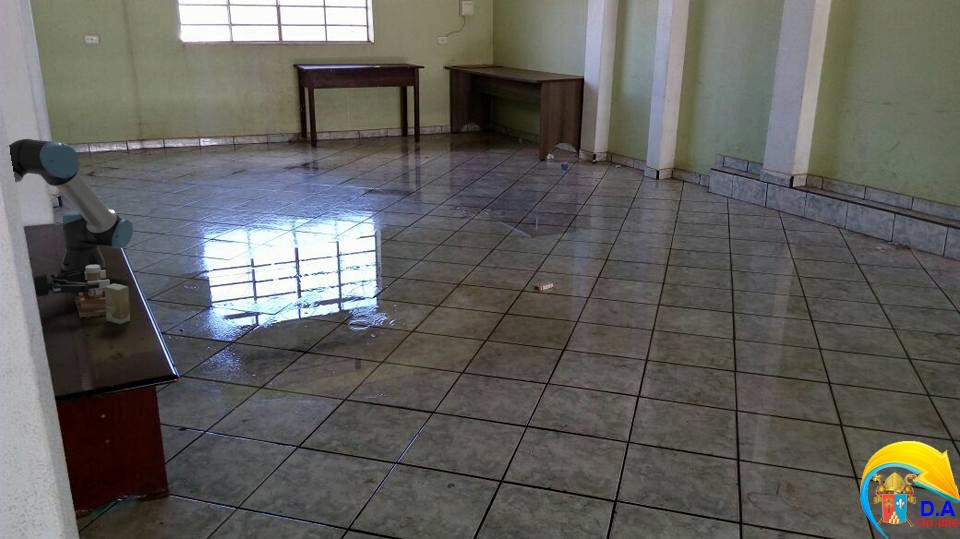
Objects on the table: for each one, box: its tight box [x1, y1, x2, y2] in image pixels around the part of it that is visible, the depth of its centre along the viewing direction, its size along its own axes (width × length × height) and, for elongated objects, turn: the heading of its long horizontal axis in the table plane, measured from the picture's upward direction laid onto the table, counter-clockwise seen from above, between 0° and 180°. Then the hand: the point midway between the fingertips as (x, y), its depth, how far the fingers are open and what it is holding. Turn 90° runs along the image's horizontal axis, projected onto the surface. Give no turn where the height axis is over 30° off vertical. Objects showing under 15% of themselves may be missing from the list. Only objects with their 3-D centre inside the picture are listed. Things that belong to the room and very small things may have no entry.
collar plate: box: [74, 288, 106, 319], centre depth 257 cm, size 18×12×4 cm, turn 32°
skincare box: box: [104, 283, 131, 325], centre depth 246 cm, size 6×4×12 cm
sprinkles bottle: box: [85, 265, 103, 299], centre depth 255 cm, size 5×5×13 cm
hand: (107, 278), depth 257 cm, fingers open, 10 cm apart
